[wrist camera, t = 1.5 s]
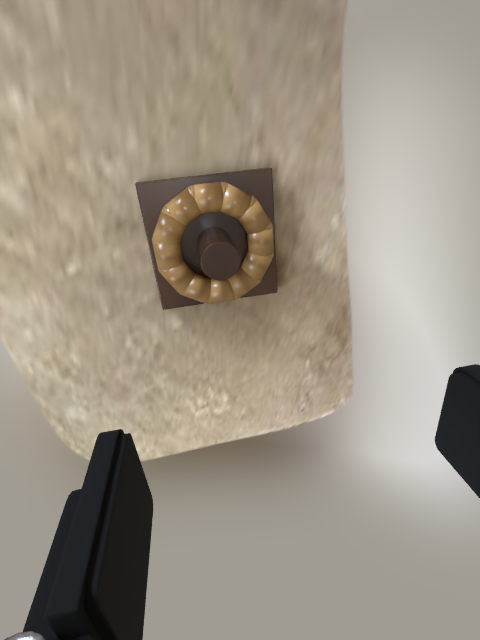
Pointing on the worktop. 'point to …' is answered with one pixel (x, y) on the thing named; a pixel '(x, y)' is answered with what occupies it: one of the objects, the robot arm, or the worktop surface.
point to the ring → (208, 201)
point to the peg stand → (209, 231)
